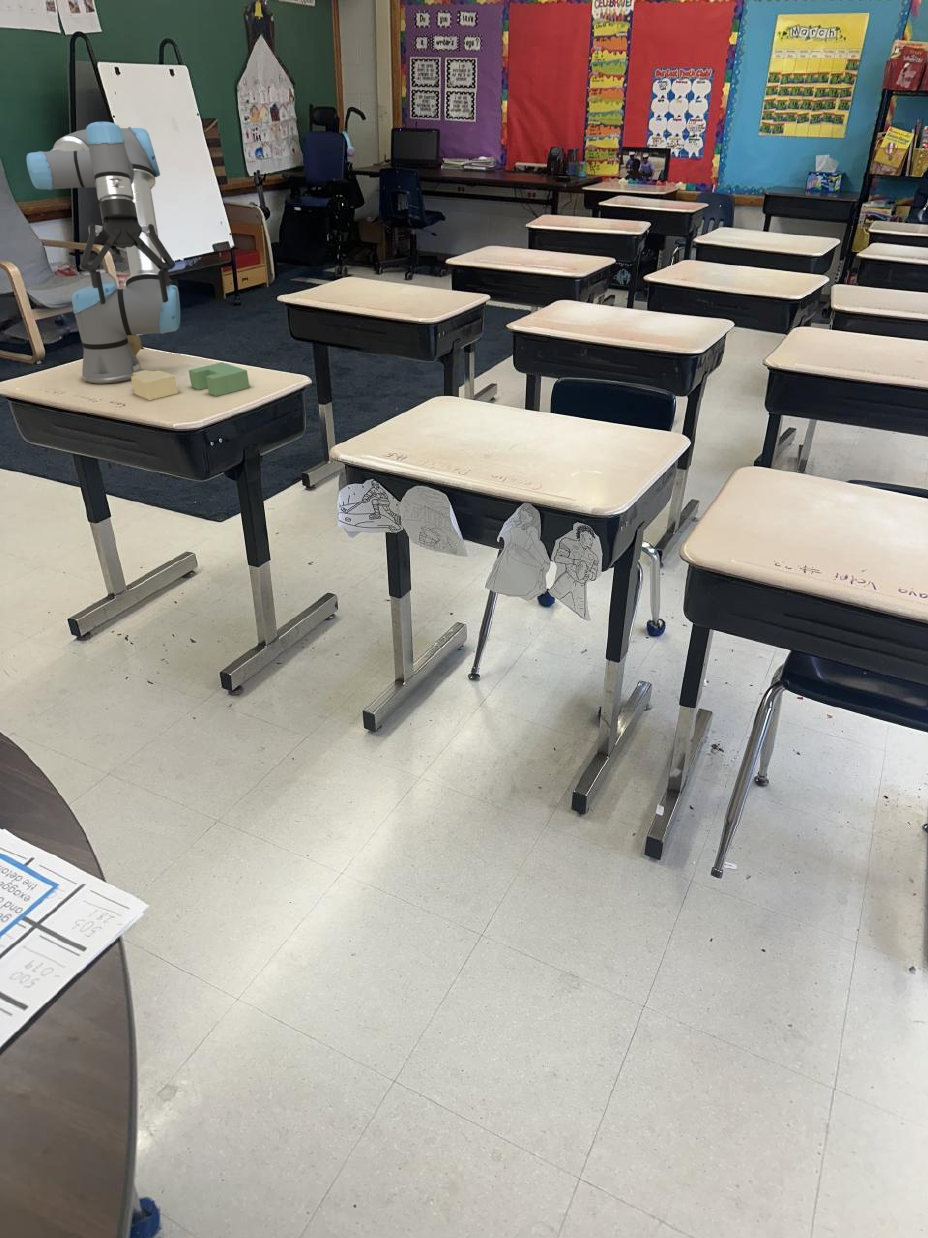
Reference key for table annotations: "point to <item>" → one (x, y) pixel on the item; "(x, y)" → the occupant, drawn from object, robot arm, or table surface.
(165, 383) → the cream pad
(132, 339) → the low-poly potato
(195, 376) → the green u-shaped block
